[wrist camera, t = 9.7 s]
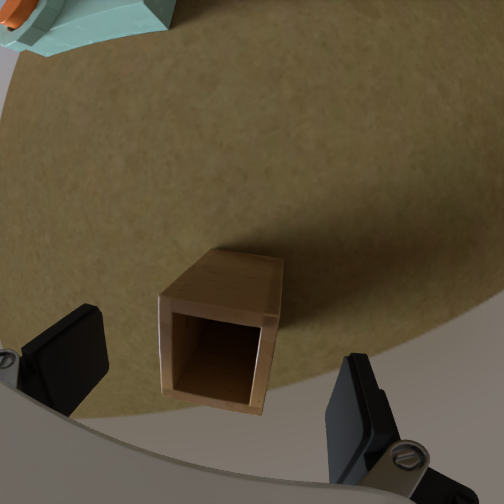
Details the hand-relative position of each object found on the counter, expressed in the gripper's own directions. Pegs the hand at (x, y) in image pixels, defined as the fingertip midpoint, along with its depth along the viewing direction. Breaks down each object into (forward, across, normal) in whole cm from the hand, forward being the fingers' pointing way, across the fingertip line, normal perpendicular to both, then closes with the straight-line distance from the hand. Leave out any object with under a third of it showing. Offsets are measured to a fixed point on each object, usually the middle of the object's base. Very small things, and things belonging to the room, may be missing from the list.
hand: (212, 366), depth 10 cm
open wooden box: (+9, 0, 0) cm, 9 cm away
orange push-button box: (+9, +13, -22) cm, 28 cm away
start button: (+3, +17, -19) cm, 26 cm away
